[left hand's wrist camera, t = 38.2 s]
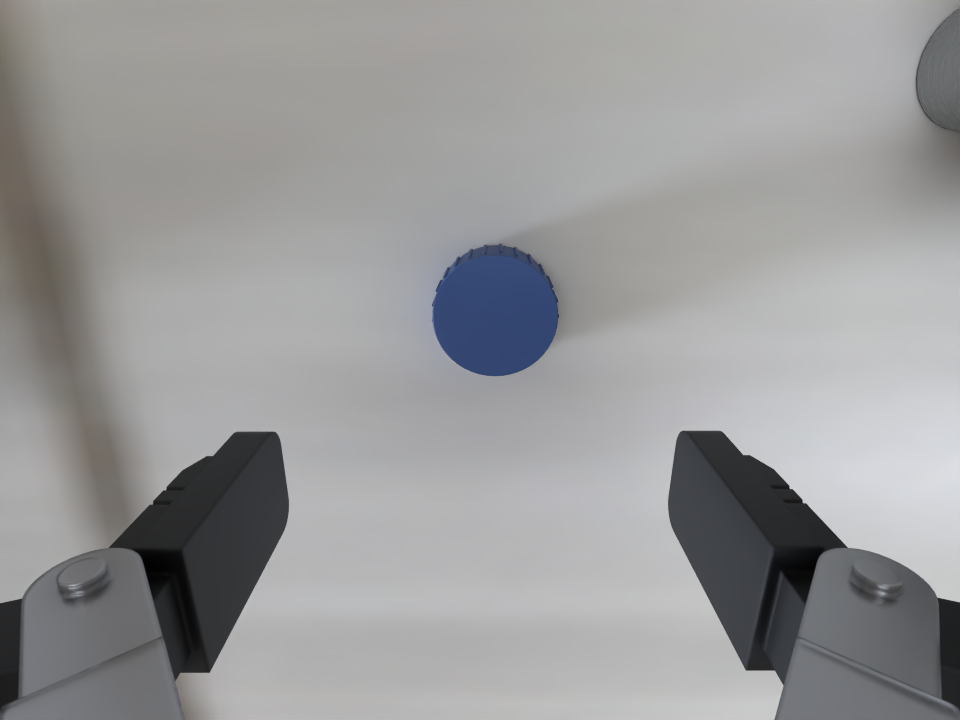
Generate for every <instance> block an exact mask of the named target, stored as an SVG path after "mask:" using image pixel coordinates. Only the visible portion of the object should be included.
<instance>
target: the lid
mask: <svg viewBox="0 0 960 720" xmlns="http://www.w3.org/2000/svg"><path fill="white" fill-rule="evenodd" d="M443 278H444V279H443V280H440V282H439V285H438V287H437V289H436V292H437V294H436V297H435V299H434V301H433V304H432V306H433V316H432V318H433V319H432V322H433V326H434V330H435V334H436V337H437V339H438V341H439V343H440V345H441V347H442V348H443V350H444V351H445V352H446V354H447V355H448V356H449V357H450V358H451V359H452V360H453V361H455V362H456V363H457V364H458V365H460V366H462V367H463V368H465V369H467V370H469V371H471V372H474V373H477V374H482V375H487V376H503V375H509V374H513V373H516V372H519V371H521V370H523V369H525V368H527V367H529V366H530V365H532V364H533V363H535V362H536V361H537V360H538V359H539V358H540V357H541V356H542V355H543V354H544V353H545V352H546V350H547V349H548V347H549V346H550V344H551V342H552V340H553V338H554V335H555V332H556V328H557V322H558V318H559V315H558V308H557V302H558V300H557V297H556V295H555V293H554V290H552V288H553V285H552V283H551V280H550V278H549V276H546V274H545V273H544V270H543V268H542V265H541V264H539V265H538V264H537V263H536V262H535V261H534V260H533V259H532V258H531V255H530V254H528V255H526V254H525V253H523V252H521V251H519V250H517V248H516V247H515V248H510V247H506V246H502V244H500V246H487V245H484V247H480V248H478V249H475V250H472V249H470V251H469V252H468V253H466V254H465V255H463V256H462V257H457V259H456V262H455V263H454V264H453V265H452V266H451V267H450V268H449V267H448V268H447V270H446V272H445V274H444V276H443Z"/></svg>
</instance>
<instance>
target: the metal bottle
mask: <svg viewBox="0 0 960 720" xmlns="http://www.w3.org/2000/svg"><path fill="white" fill-rule="evenodd" d="M917 91H918V97H919V100H920V103H921V105H922V108H923V110H924V111H925V113H926V114H927V115H928V116H929V117H930V119H931V120H932V121H934V122H935V123H937V124H938V125H940V126H942V127H944V128H946V129H949V130H954V131H960V9H958V10H957V11H955V12H954V13H953V14H952V15H951V16H949V17H948V18H947V19H946V20H945V21H944V22H943V23H942V25H941V26H940V27H939V28H938V29H937V30H936V32H935V33H934V34H933V36H932V37H931V39H930V41H929V42H928V44H927V46H926V48H925V50H924V52H923V55H922V58H921V60H920V64H919V68H918V74H917Z"/></svg>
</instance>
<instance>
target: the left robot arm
mask: <svg viewBox="0 0 960 720" xmlns="http://www.w3.org/2000/svg"><path fill="white" fill-rule="evenodd" d="M668 510H669V518H670V522H671V526H672V529H673V531H674V533H675V535H676V537H677V539H678V540H679V542H680V544H681V546H682V548H683V550H684V552H685V554H686V556H687V558H688V560H689V562H690V564H691V565H692V567H693V569H694V571H695V573H696V575H697V577H698V579H699V581H700V583H701V585H702V587H703V589H704V591H705V592H706V594H707V596H708V598H709V600H710V602H711V604H712V606H713V608H714V610H715V612H716V614H717V616H718V617H719V619H720V621H721V623H722V625H723V627H724V629H725V631H726V633H727V635H728V637H729V639H730V641H731V642H732V644H733V646H734V648H735V650H736V652H737V654H738V656H739V658H740V660H741V662H742V664H743V666H744V668H745V669H746V670H775V671H776V673H777V675H778V676H779V678H780V680H781V682H782V683H783V685H784V687H783V690H782V694H781V698H780V701H779V705H778V709H777V713H776V716H775V720H960V602H955V601H950V600H945V599H941V598H937V596H936V594H935V592H934V591H933V589H932V588H931V587H930V585H929V584H928V583H927V582H926V581H925V580H924V579H922V578H921V577H920V576H919V575H917V574H916V573H915V572H913V571H912V570H910V569H909V568H907V567H905V566H904V565H902V564H900V563H898V562H896V561H894V560H892V559H890V558H887V557H885V556H882V555H879V554H876V553H873V552H870V551H865V550H861V549H854V548H848V547H847V546H846V545H845V544H844V543H843V542H842V541H841V540H840V539H839V538H838V537H837V536H836V535H835V534H834V533H833V532H832V531H831V529H830V528H829V527H828V526H827V525H826V524H825V523H824V522H823V521H822V520H821V519H820V518H819V517H818V516H817V515H816V514H815V513H814V511H813V510H812V509H811V508H810V507H809V506H808V505H807V504H806V503H803V502H802V499H801V498H800V497H799V496H798V495H797V493H796V492H795V491H794V490H793V489H790V488H789V485H788V484H787V483H786V482H785V481H784V480H783V479H782V478H781V477H780V475H779V474H778V473H777V472H776V471H775V470H774V469H772V468H771V467H769V466H767V465H765V464H764V463H762V462H760V461H759V460H757V459H755V458H754V457H752V456H750V455H743V454H742V453H741V452H740V451H739V450H738V449H737V448H736V446H735V445H734V444H733V443H732V442H731V441H730V440H729V439H728V437H727V436H726V435H725V434H724V433H723V432H721V431H681V432H680V433H679V435H678V437H677V441H676V447H675V454H674V462H673V469H672V476H671V483H670V491H669V498H668ZM288 512H289V498H288V491H287V484H286V477H285V469H284V462H283V455H282V448H281V442H280V438H279V436H278V434H277V433H276V432H235V433H234V434H233V435H232V436H231V437H230V438H229V439H228V440H227V441H226V442H225V443H224V445H223V446H222V447H221V448H220V449H219V450H218V451H217V452H216V454H215V455H214V456H206V457H205V458H203V459H201V460H200V461H198V462H196V463H194V464H193V465H191V466H189V467H188V468H186V469H184V470H183V471H182V472H181V473H180V474H179V475H178V476H177V477H176V478H175V479H174V480H173V481H172V482H171V483H170V484H169V485H168V486H167V490H166V491H163V492H162V493H161V494H160V495H159V496H158V497H157V498H156V499H155V500H154V501H153V505H149V506H148V507H147V508H146V509H145V510H144V511H143V512H142V514H141V515H140V516H139V517H138V518H137V519H136V520H135V521H134V522H133V523H132V524H131V525H130V526H129V527H128V528H127V529H126V530H125V531H124V532H123V533H122V535H121V536H120V537H119V538H118V539H117V540H116V541H115V542H114V543H113V544H112V545H111V546H110V547H109V548H106V549H99V550H95V551H90V552H87V553H84V554H81V555H78V556H75V557H73V558H70V559H68V560H66V561H64V562H62V563H60V564H58V565H56V566H55V567H53V568H51V569H50V570H48V571H47V572H45V573H44V574H43V575H41V576H40V577H39V578H38V579H36V580H35V581H34V582H33V583H32V584H31V585H30V587H29V588H28V589H27V591H26V592H25V594H24V596H23V598H22V599H19V600H14V601H9V602H5V603H0V720H185V716H184V713H183V709H182V705H181V701H180V698H179V694H178V690H177V687H176V683H175V681H176V679H177V677H178V676H179V674H180V673H210V671H211V669H212V667H213V665H214V663H215V661H216V659H217V658H218V656H219V654H220V652H221V650H222V648H223V646H224V644H225V642H226V640H227V639H228V637H229V635H230V633H231V631H232V629H233V627H234V625H235V623H236V621H237V619H238V618H239V616H240V614H241V612H242V610H243V608H244V606H245V604H246V602H247V600H248V599H249V597H250V595H251V593H252V591H253V589H254V587H255V585H256V583H257V581H258V580H259V578H260V576H261V574H262V572H263V570H264V568H265V566H266V564H267V562H268V561H269V559H270V557H271V555H272V553H273V551H274V549H275V547H276V545H277V543H278V542H279V540H280V538H281V536H282V534H283V532H284V530H285V527H286V524H287V519H288Z"/></svg>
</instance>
